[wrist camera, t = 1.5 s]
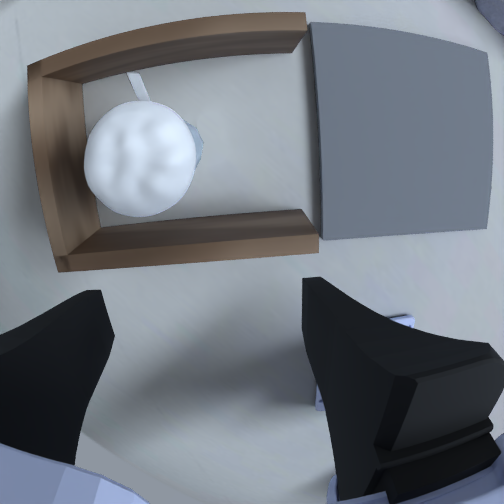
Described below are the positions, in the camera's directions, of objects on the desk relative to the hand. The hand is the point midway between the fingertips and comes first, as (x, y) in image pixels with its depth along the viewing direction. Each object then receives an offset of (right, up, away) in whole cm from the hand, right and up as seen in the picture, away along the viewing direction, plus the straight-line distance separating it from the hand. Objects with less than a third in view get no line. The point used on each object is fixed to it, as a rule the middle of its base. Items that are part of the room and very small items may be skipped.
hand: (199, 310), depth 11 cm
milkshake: (-3, +9, +8) cm, 12 cm away
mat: (+13, +10, +8) cm, 18 cm away
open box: (-3, +9, +8) cm, 12 cm away
